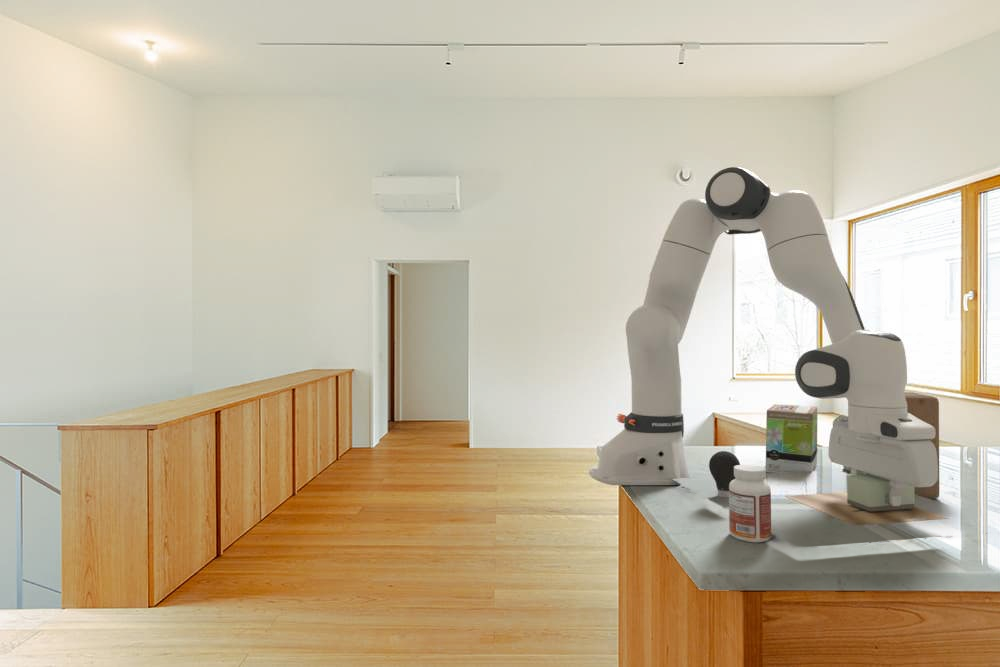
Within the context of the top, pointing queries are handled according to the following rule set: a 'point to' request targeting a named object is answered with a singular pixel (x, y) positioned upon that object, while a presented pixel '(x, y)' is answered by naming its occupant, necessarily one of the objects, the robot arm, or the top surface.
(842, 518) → the oak board
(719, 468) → the light bulb
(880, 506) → the block
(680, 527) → the top surface
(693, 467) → the top surface
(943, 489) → the top surface
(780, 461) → the tea box
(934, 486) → the wooden block
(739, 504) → the pill bottle
